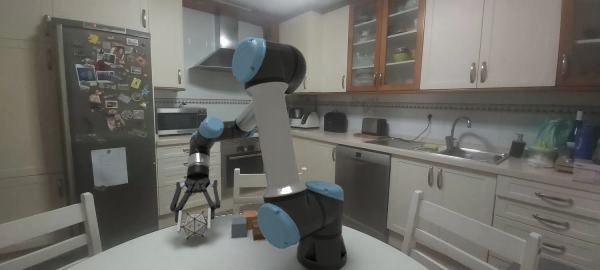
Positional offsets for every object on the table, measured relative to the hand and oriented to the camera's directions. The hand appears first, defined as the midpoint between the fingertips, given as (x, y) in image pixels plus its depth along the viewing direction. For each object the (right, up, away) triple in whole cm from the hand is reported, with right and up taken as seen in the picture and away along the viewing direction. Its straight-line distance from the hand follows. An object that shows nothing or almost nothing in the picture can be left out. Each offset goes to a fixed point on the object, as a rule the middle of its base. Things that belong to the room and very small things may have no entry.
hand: (194, 230), depth 84 cm
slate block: (+12, -5, +9) cm, 16 cm away
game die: (-1, -3, +4) cm, 5 cm away
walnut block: (+20, -5, +8) cm, 22 cm away
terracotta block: (+15, -4, +15) cm, 22 cm away
